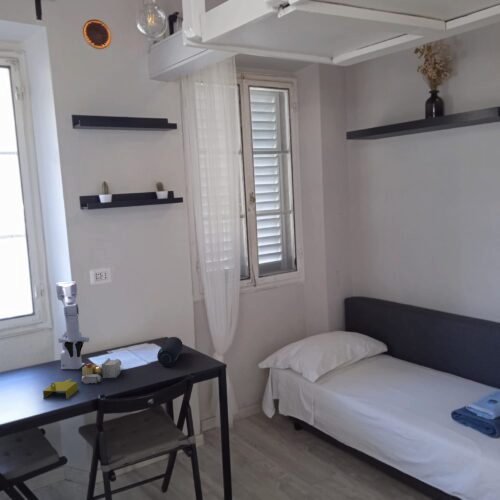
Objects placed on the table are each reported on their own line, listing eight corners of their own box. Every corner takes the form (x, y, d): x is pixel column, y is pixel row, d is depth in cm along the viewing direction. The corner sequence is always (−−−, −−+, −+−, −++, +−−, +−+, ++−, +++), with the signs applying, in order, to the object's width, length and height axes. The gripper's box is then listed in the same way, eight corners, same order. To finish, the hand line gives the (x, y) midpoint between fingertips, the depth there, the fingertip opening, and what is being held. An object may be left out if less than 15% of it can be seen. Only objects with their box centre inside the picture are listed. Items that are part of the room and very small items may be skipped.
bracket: (85, 371, 238) (70, 383, 224) (87, 387, 239) (71, 400, 225) (53, 371, 241) (35, 383, 226) (55, 387, 241) (37, 400, 227)
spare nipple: (81, 384, 243) (80, 377, 243) (84, 381, 246) (83, 374, 246) (99, 383, 242) (98, 376, 242) (101, 381, 246) (101, 373, 245)
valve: (82, 377, 252) (81, 365, 251) (87, 373, 256) (86, 362, 256) (101, 376, 251) (100, 365, 250) (105, 373, 256) (104, 362, 255)
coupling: (102, 378, 249) (101, 364, 248) (113, 368, 262) (112, 355, 262) (115, 378, 248) (113, 364, 247) (124, 368, 262) (123, 354, 261)
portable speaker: (165, 353, 284) (164, 335, 282) (184, 352, 283) (183, 334, 282) (156, 369, 259) (154, 349, 258) (176, 368, 258) (175, 348, 257)
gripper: (54, 331, 249) (57, 359, 250) (84, 331, 247) (86, 359, 249) (61, 327, 256) (63, 355, 257) (90, 327, 254) (92, 354, 256)
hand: (75, 356), depth 253 cm, fingers open, 3 cm apart
